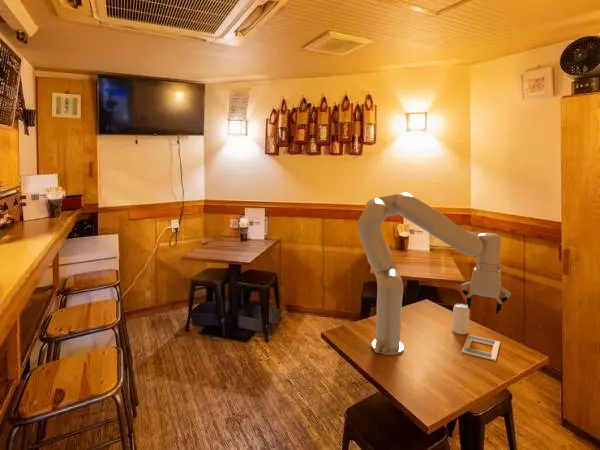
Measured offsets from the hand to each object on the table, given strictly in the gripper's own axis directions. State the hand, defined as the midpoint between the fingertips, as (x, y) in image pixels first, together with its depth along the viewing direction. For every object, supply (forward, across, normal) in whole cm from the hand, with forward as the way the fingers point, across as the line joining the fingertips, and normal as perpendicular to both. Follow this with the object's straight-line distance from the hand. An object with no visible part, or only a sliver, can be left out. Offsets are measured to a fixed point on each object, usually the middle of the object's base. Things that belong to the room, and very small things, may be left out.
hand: (483, 309), depth 144 cm
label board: (+18, 0, -6) cm, 19 cm away
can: (+18, +10, -16) cm, 26 cm away
